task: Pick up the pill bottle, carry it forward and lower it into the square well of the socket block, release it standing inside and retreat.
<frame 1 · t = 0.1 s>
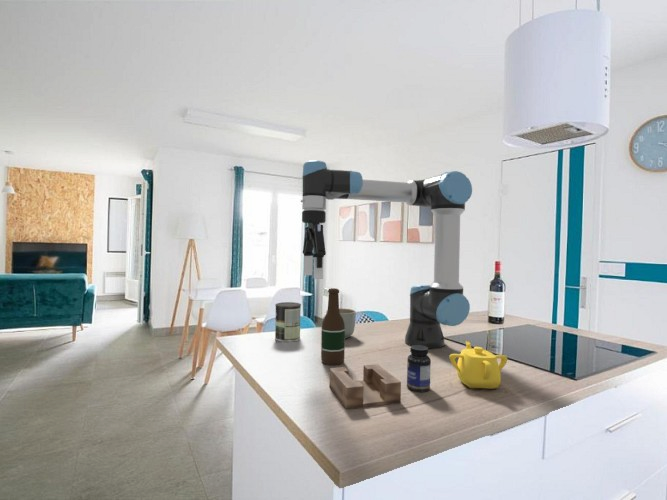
hand: (312, 277, 117), 28 cm above the counter, fingers open, 13 cm apart
pill bottle: (418, 388, 99), on the counter
beer bottle: (332, 362, 120), on the counter
socket: (363, 394, 94), on the counter
teapot: (476, 383, 103), on the counter
coffee can: (287, 339, 149), on the counter
planter: (340, 337, 153), on the counter
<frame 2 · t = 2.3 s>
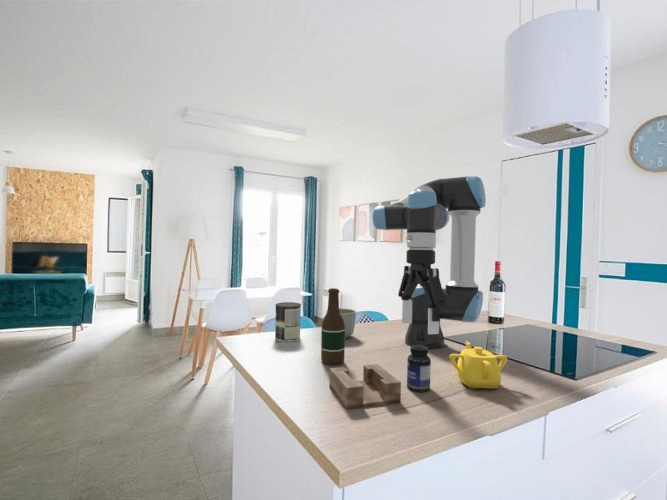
hand: (419, 328, 98), 16 cm above the counter, fingers open, 13 cm apart
nothing on the counter moved.
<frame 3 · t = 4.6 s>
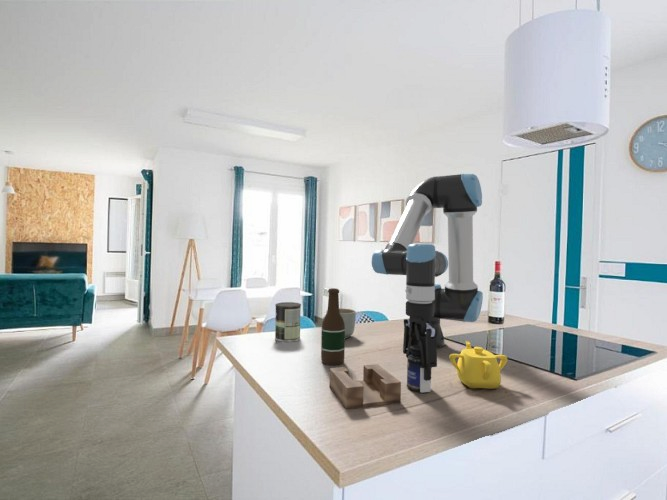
hand: (418, 386, 99), 0 cm above the counter, fingers closed on pill bottle, 6 cm apart
pill bottle: (418, 388, 99), on the counter, touching gripper
everything else where it was.
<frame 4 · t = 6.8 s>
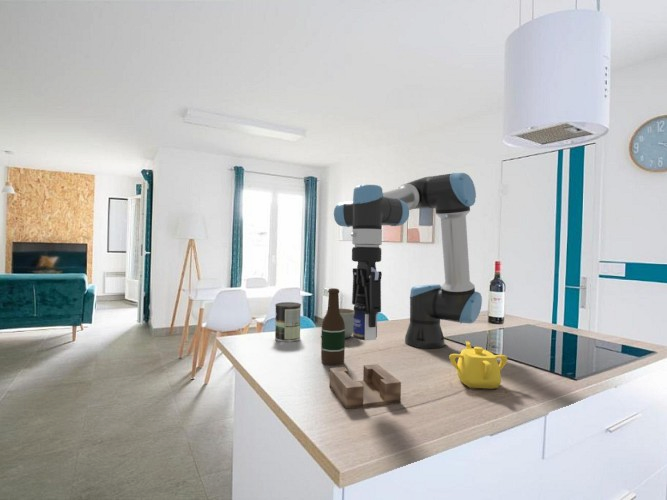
hand: (365, 336, 94), 15 cm above the counter, fingers closed on pill bottle, 6 cm apart
pill bottle: (364, 338, 94), point 14 cm above the counter, touching gripper
everything else where it was.
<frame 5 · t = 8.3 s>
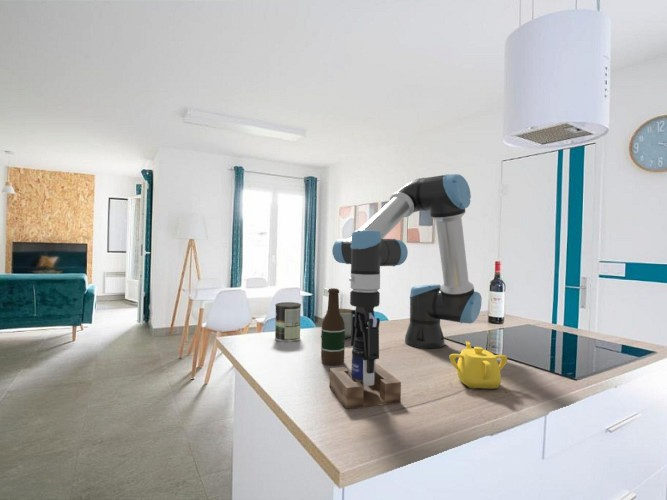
hand: (363, 380, 94), 4 cm above the counter, fingers closed on pill bottle, 6 cm apart
pill bottle: (363, 382, 94), point 3 cm above the counter, touching gripper
everything else where it was.
when the fingers open (3 cm above the counter, at t = 9.2 s): pill bottle drops 2 cm, resting on socket.
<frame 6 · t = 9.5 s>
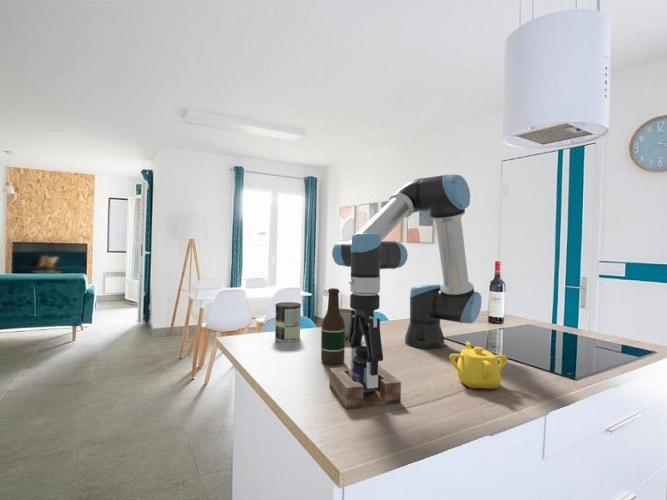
hand: (363, 379, 94), 4 cm above the counter, fingers open, 10 cm apart
pill bottle: (363, 391, 94), point 1 cm above the counter, touching socket
everything else where it was.
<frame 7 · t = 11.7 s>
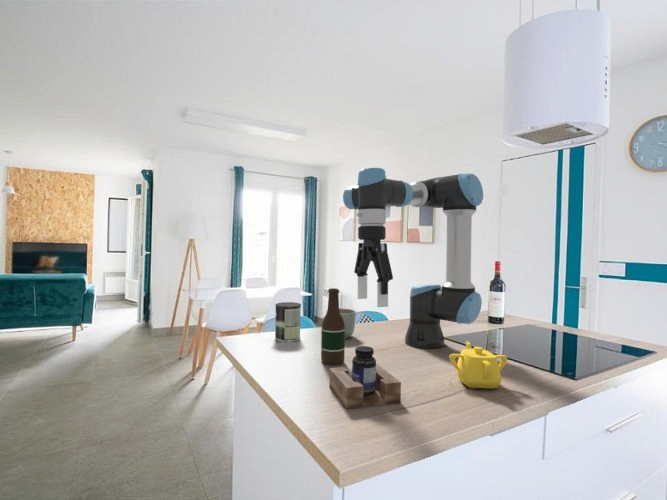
hand: (371, 302, 101), 23 cm above the counter, fingers open, 13 cm apart
nothing on the counter moved.
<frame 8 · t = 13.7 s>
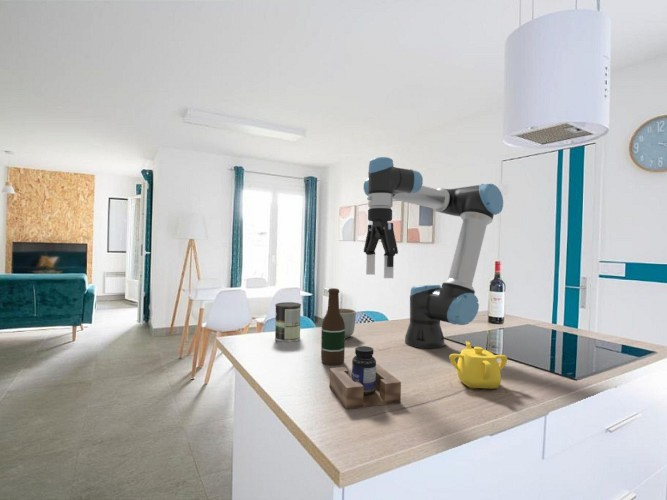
hand: (379, 276, 114), 29 cm above the counter, fingers open, 13 cm apart
nothing on the counter moved.
at the end: pill bottle 0.0 cm off-centre on the socket, point 0.6 cm above the socket's base; pill bottle tilted 0°; the gripper is holding nothing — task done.
